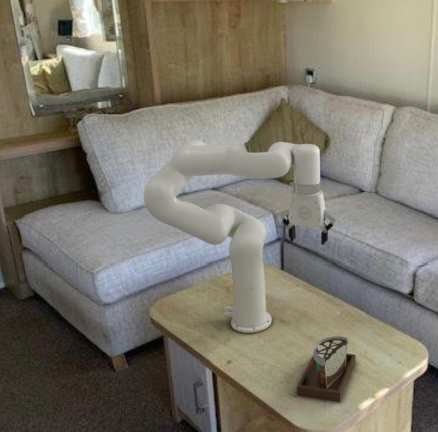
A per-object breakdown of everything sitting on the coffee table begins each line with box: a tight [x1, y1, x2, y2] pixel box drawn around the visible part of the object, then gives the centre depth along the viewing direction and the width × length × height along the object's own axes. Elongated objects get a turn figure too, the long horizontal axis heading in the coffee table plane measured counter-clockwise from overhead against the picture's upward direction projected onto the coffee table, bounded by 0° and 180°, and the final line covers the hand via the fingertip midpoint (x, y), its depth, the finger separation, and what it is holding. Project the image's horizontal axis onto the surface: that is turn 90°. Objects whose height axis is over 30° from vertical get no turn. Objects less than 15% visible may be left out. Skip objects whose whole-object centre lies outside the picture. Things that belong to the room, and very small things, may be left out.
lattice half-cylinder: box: [312, 335, 349, 388], centre depth 168 cm, size 12×6×10 cm, turn 150°
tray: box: [296, 353, 357, 403], centre depth 170 cm, size 12×18×3 cm, turn 168°
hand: (308, 241), depth 186 cm, fingers open, 9 cm apart
